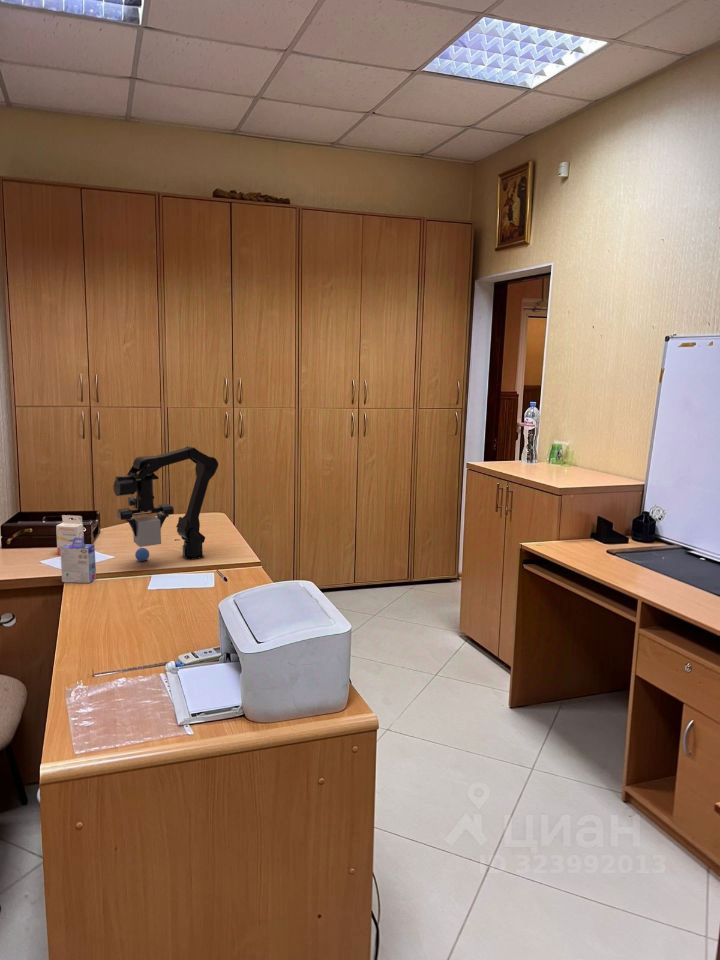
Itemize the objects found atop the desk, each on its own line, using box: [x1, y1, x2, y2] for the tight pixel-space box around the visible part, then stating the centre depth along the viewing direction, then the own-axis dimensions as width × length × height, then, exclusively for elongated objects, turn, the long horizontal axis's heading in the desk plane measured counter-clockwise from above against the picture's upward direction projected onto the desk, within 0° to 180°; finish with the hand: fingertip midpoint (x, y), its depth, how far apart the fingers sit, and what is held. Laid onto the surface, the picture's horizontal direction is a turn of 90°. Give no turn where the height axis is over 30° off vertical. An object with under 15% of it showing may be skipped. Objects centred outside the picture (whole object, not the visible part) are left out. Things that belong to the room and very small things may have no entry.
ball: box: [135, 547, 150, 562], centre depth 253 cm, size 5×5×5 cm
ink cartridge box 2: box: [60, 537, 97, 584], centre depth 230 cm, size 10×6×14 cm, turn 89°
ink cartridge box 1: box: [55, 514, 85, 556], centre depth 258 cm, size 9×5×15 cm, turn 84°
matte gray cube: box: [132, 515, 162, 548], centre depth 244 cm, size 8×8×9 cm
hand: (146, 534), depth 245 cm, fingers closed on matte gray cube, 8 cm apart
